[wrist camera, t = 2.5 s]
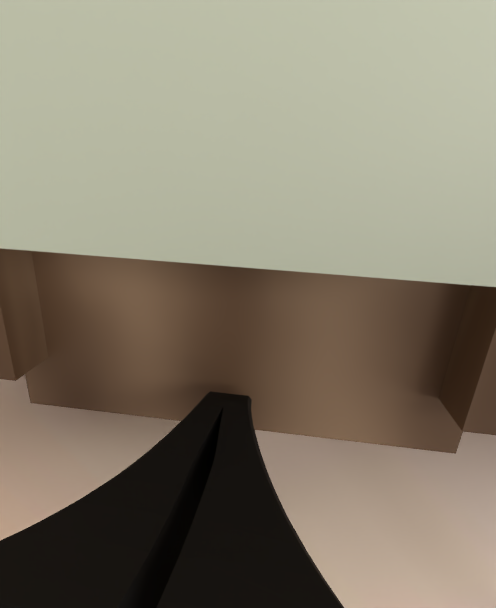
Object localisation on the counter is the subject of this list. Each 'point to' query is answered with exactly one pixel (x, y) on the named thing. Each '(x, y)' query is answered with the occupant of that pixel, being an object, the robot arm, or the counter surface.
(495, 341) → the track
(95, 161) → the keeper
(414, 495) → the counter surface
